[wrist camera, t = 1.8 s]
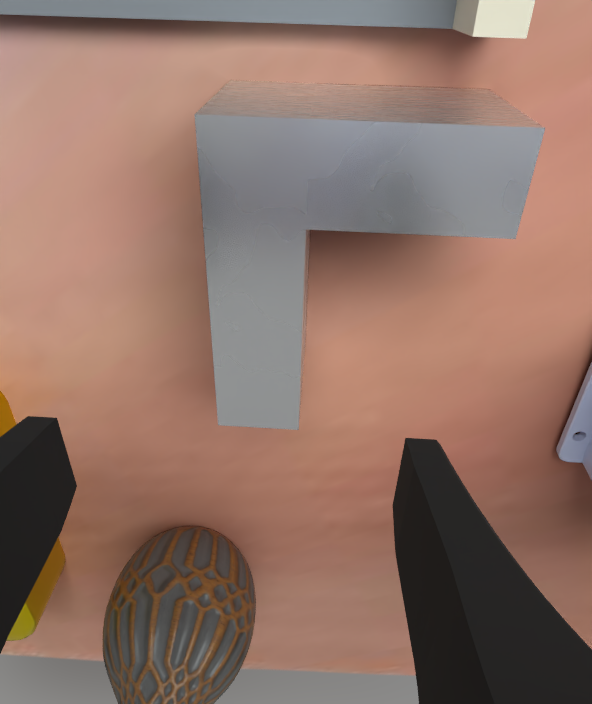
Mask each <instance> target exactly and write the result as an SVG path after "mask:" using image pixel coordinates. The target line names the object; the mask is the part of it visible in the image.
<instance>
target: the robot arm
mask: <svg viewBox="0 0 592 704" xmlns="http://www.w3.org/2000/svg"><path fill="white" fill-rule="evenodd" d="M577 432H580V433H578V434H575V433H577ZM556 451H557V454H558V456H559V458H560V459H561V460H563V461H566V462H579V463H583V465H584V467H585V469H586V471H587V473H588V475H589V476H590V478H591V480H592V362H591V364H590V367H589V369H588V372H587V374H586V377H585V379H584V382H583V384H582V387H581V389H580V391H579V394H578V396H577V399H576V401H575V404H574V406H573V409H572V411H571V414H570V416H569V418H568V421H567V423H566V426H565V428H564V431H563V433H562V436H561V438H560V441H559V443H558V445H557V449H556ZM76 487H77V485H76V481H75V478H74V475H73V471H72V468H71V465H70V461H69V458H68V454H67V451H66V448H65V444H64V441H63V437H62V434H61V431H60V427H59V424H58V420H57V418H48V417H30V416H28V417H27V418H25V419H24V420H22V421H21V422H20V423H18V424H17V425H15V426H14V427H13V428H11V429H10V430H9V431H7V432H6V433H5V434H4V435H2V436H1V437H0V653H1V651H2V649H3V647H4V645H5V642H6V640H7V638H8V636H9V634H10V632H11V630H12V628H13V626H14V624H15V622H16V620H17V618H18V616H19V614H20V612H21V610H22V608H23V606H24V604H25V602H26V600H27V598H28V596H29V594H30V592H31V590H32V588H33V587H34V585H35V583H36V581H37V579H38V577H39V575H40V573H41V571H42V569H43V567H44V565H45V563H46V561H47V559H48V557H49V555H50V553H51V551H52V549H53V547H54V545H55V543H56V541H57V539H58V536H59V534H60V532H61V530H62V527H63V525H64V522H65V519H66V516H67V514H68V511H69V508H70V505H71V502H72V499H73V496H74V493H75V490H76ZM393 518H394V536H395V551H396V558H397V565H398V571H399V576H400V582H401V588H402V594H403V600H404V606H405V611H406V617H407V623H408V629H409V635H410V640H411V646H412V652H413V658H414V664H415V671H416V679H417V686H418V696H419V704H592V650H591V648H590V647H589V646H588V645H587V644H586V643H585V642H584V641H583V640H582V639H581V638H580V636H579V635H578V634H577V633H576V632H575V631H574V630H573V629H572V628H571V627H570V626H569V624H568V623H567V622H566V621H565V620H564V619H563V618H562V616H561V615H560V614H559V613H558V612H557V611H556V610H555V608H554V607H553V606H552V605H551V604H550V603H549V601H548V600H547V599H546V598H545V597H544V596H543V594H542V593H541V592H540V591H539V589H538V588H537V587H536V586H535V585H534V583H533V582H532V581H531V580H530V578H529V577H528V576H527V575H526V573H525V572H524V571H523V569H522V568H521V567H520V565H519V564H518V563H517V561H516V560H515V559H514V558H513V556H512V555H511V554H510V552H509V551H508V550H507V548H506V547H505V545H504V544H503V543H502V541H501V540H500V539H499V537H498V536H497V534H496V533H495V531H494V530H493V528H492V527H491V526H490V524H489V523H488V521H487V520H486V518H485V517H484V515H483V514H482V512H481V511H480V509H479V508H478V507H477V505H476V503H475V502H474V500H473V499H472V497H471V496H470V494H469V493H468V491H467V489H466V488H465V486H464V484H463V483H462V481H461V480H460V478H459V476H458V475H457V473H456V471H455V470H454V468H453V466H452V465H451V463H450V461H449V459H448V458H447V456H446V454H445V452H444V450H443V449H442V447H441V445H440V444H439V443H438V441H437V440H431V439H414V438H406V439H405V444H404V449H403V455H402V460H401V465H400V470H399V476H398V481H397V486H396V491H395V496H394V502H393Z"/></svg>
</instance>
